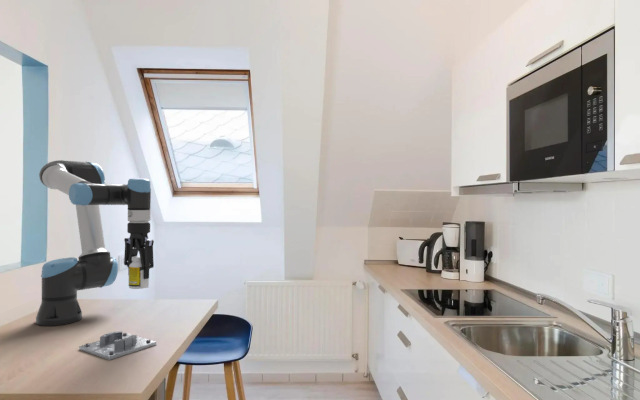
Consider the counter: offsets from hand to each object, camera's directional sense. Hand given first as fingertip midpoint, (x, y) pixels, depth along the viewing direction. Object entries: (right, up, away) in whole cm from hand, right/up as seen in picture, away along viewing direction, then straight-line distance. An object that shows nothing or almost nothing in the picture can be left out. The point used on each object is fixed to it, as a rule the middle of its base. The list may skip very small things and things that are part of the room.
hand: (138, 286), depth 154 cm
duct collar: (+1, -16, -17) cm, 23 cm away
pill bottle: (0, -1, 0) cm, 1 cm away
